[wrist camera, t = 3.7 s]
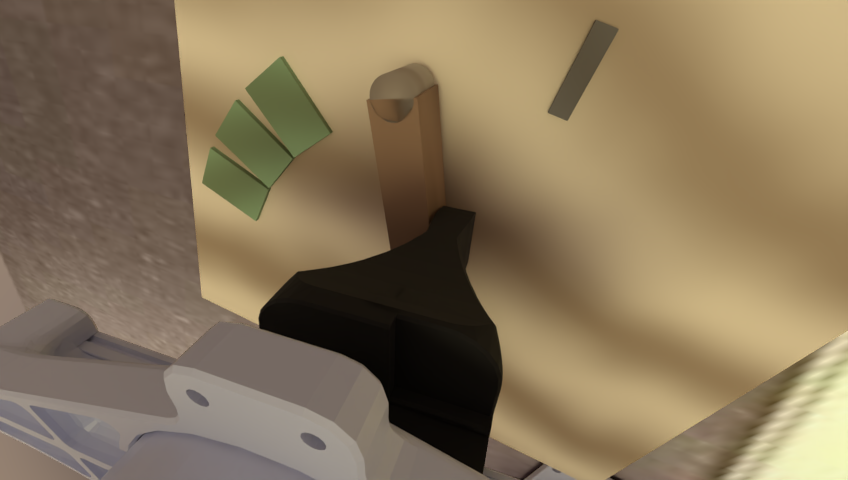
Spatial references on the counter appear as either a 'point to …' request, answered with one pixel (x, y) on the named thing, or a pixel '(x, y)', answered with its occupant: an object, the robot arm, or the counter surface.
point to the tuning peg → (407, 149)
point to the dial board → (551, 187)
